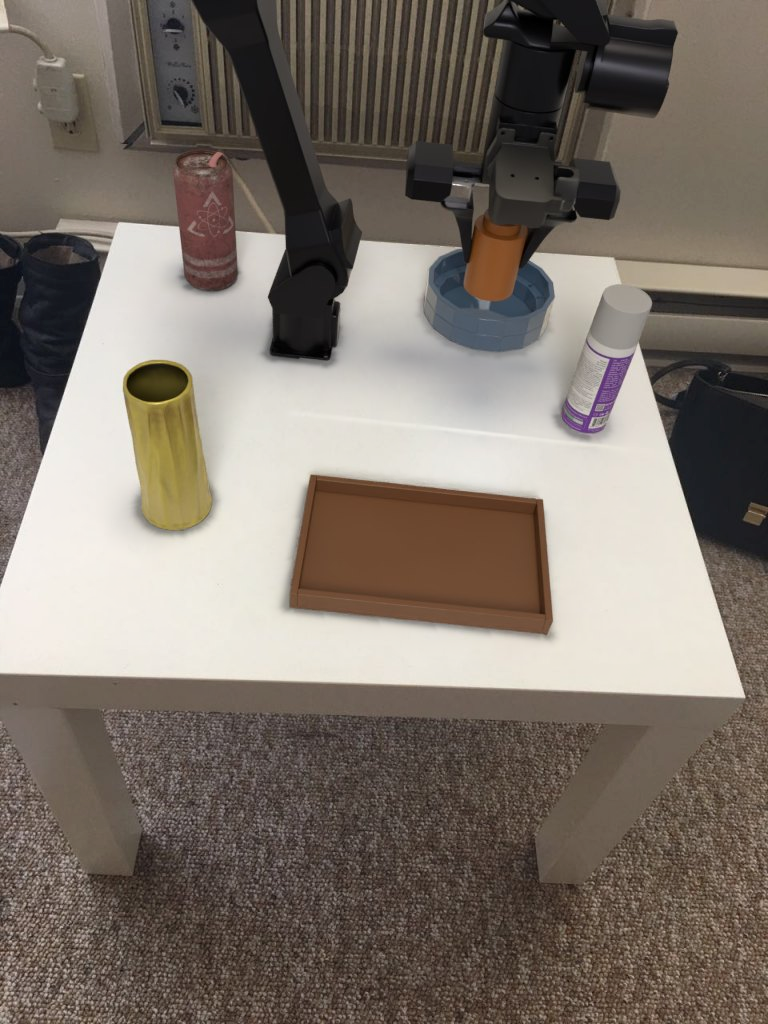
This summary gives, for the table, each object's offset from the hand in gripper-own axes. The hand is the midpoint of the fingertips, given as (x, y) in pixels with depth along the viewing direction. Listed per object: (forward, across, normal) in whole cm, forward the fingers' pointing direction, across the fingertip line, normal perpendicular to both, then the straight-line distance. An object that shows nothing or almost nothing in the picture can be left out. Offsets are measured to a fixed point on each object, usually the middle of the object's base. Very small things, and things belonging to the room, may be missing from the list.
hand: (492, 263), depth 80 cm
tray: (+13, -5, -27) cm, 30 cm away
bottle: (+3, 0, 0) cm, 3 cm away
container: (+13, +11, -7) cm, 19 cm away
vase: (+13, -27, -23) cm, 38 cm away
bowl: (+13, +2, +9) cm, 16 cm away
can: (+13, -30, +12) cm, 35 cm away
